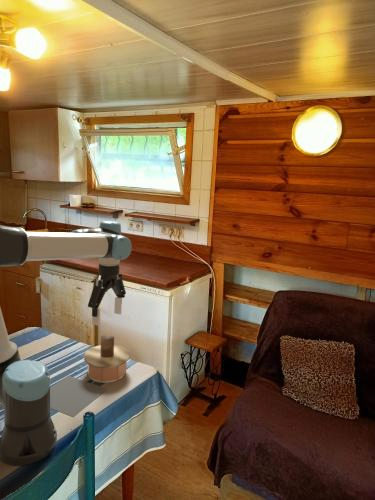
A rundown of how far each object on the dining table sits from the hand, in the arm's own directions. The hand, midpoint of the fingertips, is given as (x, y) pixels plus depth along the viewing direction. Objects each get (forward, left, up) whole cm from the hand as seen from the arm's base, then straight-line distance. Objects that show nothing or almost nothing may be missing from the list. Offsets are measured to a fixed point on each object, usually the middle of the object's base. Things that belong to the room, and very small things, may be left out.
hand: (107, 318), depth 139 cm
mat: (-18, +2, -23) cm, 29 cm away
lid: (0, 0, -16) cm, 16 cm away
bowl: (0, 0, -23) cm, 23 cm away
